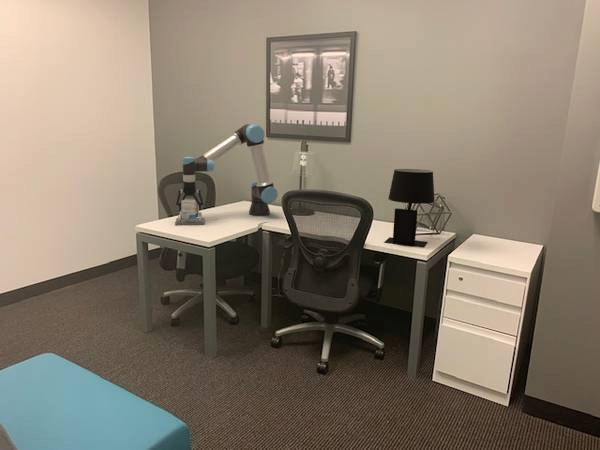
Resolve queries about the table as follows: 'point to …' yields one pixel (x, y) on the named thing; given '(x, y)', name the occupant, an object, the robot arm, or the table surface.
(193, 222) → the chassis
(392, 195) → the table lamp
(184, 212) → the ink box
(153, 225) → the table surface
